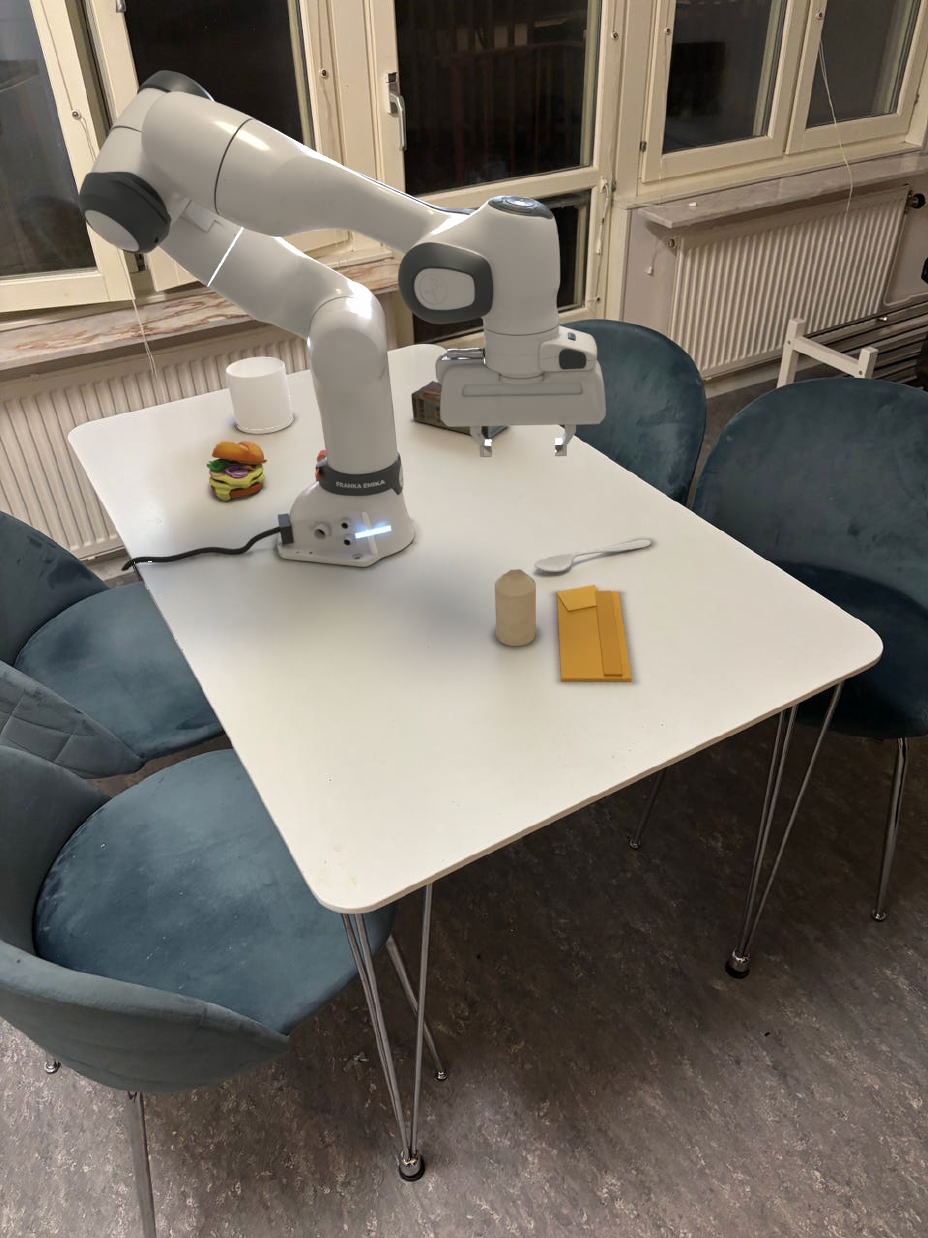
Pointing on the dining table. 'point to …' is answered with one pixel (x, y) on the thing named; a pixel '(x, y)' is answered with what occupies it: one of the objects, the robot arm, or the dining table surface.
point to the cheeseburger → (236, 469)
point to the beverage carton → (429, 410)
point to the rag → (592, 636)
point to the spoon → (566, 560)
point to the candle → (515, 608)
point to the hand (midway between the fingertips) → (523, 454)
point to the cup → (259, 394)
